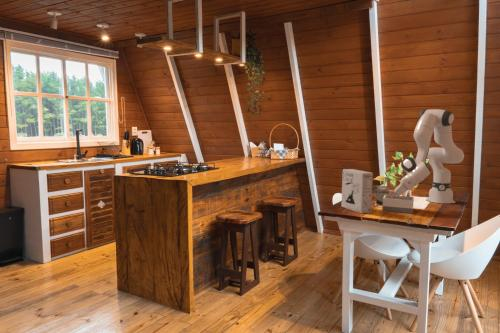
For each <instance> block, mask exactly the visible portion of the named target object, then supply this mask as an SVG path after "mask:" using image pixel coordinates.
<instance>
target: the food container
mask: <svg viewBox="0 0 500 333" xmlns="http://www.w3.org/2000/svg"><path fill="white" fill-rule="evenodd" d="M389 190H390V189H382V188H381V189H375V191H374V193H375V201H376V202H375V203H376V206H377V205H378V206H383V197H384V195H389Z"/></svg>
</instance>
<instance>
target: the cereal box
mask: <svg viewBox="0 0 500 333" xmlns="http://www.w3.org/2000/svg"><path fill="white" fill-rule="evenodd" d="M373 176H374V172H371V171H364V170H361V169H360V170H359V169H355V168H347V169H346V168H343V169H342V177H341V178H342V179H341V180H342V181H341V182H342V183H341V207H342V208H344V209H348V210H350V211H352V212H356V213H360V214H370V213H372V201H373V200H372V199H373V198H372V197H373Z"/></svg>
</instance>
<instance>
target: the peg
mask: <svg viewBox="0 0 500 333" xmlns="http://www.w3.org/2000/svg"><path fill="white" fill-rule="evenodd" d="M388 190H389V195H388V198H389V199H395V197H393V198H390V196H391V195H392V194H393V193H394V191H395V189H393V190H392V189H388Z"/></svg>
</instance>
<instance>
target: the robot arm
mask: <svg viewBox="0 0 500 333" xmlns="http://www.w3.org/2000/svg"><path fill="white" fill-rule="evenodd" d="M454 120H455V114H454V113H453V111H451V110H447V109H440V108H439V109H438V108H437V109H436V108H434V109H433V108H432V109H429V108H426V109H422V110H421V111H420V112H419V114H418V121H417V123H416V125H415V129H414V132H413V139H414V141H415V143H416V146H417V154H416V157H415V158H414V157H412V156H407V157H405V158H404V159H402V160H401V162H400V165H401V166H400V167H401V169H402V171H404V172H405V173H406V175H405V176H403V177H402V178H401V179H400V180H401V181H400V182H399V183H400V184H398V185H396V187H395V188H394V190H395V191H394V193H393V194H392V195H391V196H390V198H393V197H395V196H402V195H403V194H404V193H406V192H407V191H411V190H413V189H414V188H415V187H416V186H418V184H419V183H421V182H423V181H424V180H425V179H426V178H427V177H428V176H429V175H430V174H431V172H432V173H433V176H432V178H433V181H432V184H431V185H432V187H431V188H430V189H429V191H428V197H427V198H426V200H425V201H426V202H431V203H435V204H456V201H455V200H453V199H454V198H453V197H454V194H453V189H451V188H452V183H451V180H452V179H451V178H452V177H451V176H452V173H451V171H450V169H448V168H447V167H445V166H444V165H443V164H453V165H454V164H460V163H462V161H463V160H464V158H465V153H464V151H463V149H461V148H460V147H458V146H457V145H456V144H455V143H454V140H453V133H452V132H453V131H452V130H453V129H452V125H453V123H454ZM432 136H433V137H434V138H433V137H432ZM432 138H433V140H434V142H435V143H436V144H437V145H439V146H440V147H436V146H435V147H430V146H431V141H432ZM426 159H429V161H428V162H427V161H426ZM428 163H429V164H428ZM429 165H430V166H431V167H430V166H429ZM431 169H432V170H431Z"/></svg>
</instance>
